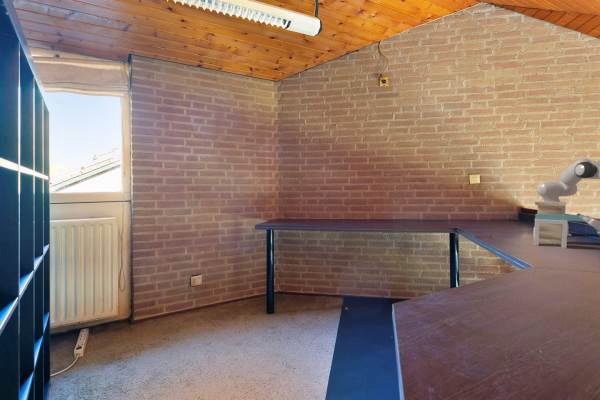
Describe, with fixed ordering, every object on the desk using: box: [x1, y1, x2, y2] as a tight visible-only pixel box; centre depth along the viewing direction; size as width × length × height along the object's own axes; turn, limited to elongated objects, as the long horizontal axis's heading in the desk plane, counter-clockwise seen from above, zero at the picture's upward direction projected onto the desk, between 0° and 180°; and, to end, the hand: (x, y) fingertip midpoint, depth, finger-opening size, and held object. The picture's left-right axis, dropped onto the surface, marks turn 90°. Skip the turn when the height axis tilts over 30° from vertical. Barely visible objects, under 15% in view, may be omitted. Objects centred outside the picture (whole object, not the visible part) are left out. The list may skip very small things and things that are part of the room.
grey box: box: [533, 218, 569, 249], centre depth 189 cm, size 8×15×16 cm, turn 54°
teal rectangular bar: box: [534, 213, 589, 223], centre depth 186 cm, size 3×24×3 cm, turn 54°
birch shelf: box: [534, 200, 567, 245], centre depth 199 cm, size 8×15×26 cm, turn 54°
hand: (578, 215), depth 181 cm, fingers open, 8 cm apart
